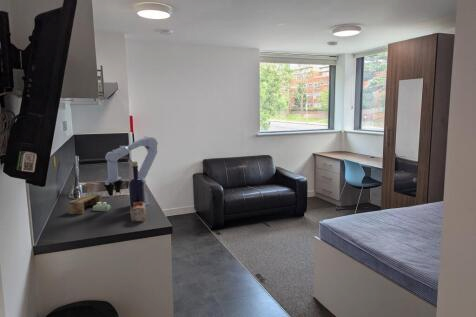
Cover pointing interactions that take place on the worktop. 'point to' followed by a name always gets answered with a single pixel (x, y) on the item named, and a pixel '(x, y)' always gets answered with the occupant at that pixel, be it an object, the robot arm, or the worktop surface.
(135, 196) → the bottle
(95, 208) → the tray
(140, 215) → the food item
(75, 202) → the wooden arch bridge
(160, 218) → the worktop surface
